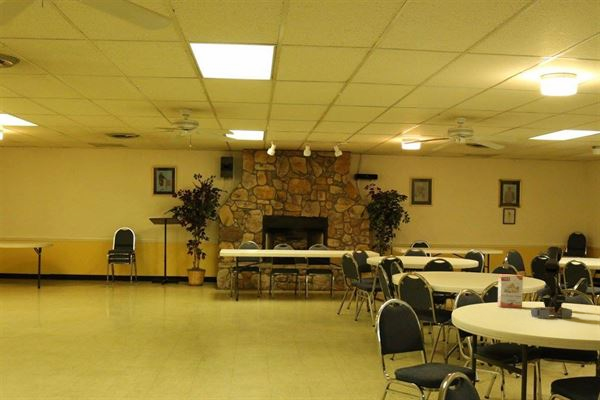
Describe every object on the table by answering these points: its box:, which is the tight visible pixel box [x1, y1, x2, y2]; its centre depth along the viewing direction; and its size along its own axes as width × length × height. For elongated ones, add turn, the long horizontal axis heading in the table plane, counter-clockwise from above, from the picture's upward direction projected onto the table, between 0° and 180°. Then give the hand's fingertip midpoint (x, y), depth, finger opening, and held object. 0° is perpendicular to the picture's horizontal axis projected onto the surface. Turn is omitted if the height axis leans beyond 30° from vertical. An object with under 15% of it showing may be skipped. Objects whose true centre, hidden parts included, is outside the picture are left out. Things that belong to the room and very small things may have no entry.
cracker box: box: [497, 273, 524, 309], centre depth 359 cm, size 14×6×21 cm, turn 88°
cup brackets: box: [530, 307, 573, 320], centre depth 324 cm, size 22×8×5 cm, turn 98°
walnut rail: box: [536, 306, 567, 316], centre depth 324 cm, size 16×4×4 cm, turn 98°
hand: (551, 310), depth 324 cm, fingers open, 9 cm apart
